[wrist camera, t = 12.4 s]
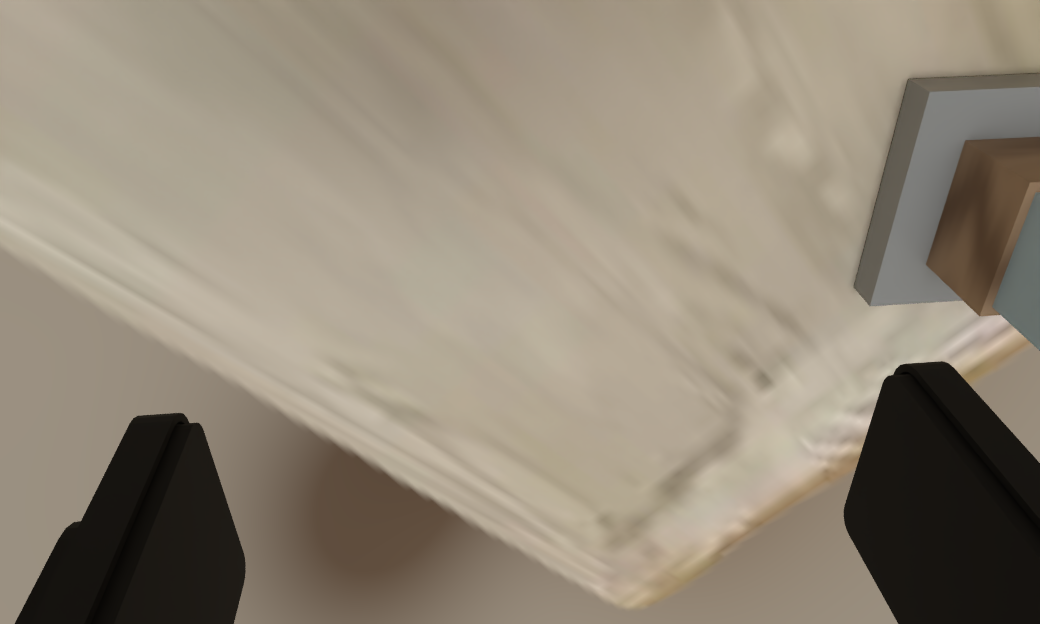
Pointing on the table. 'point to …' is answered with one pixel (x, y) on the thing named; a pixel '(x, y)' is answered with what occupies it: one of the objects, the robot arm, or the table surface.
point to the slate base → (934, 175)
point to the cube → (1023, 280)
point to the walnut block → (985, 217)
